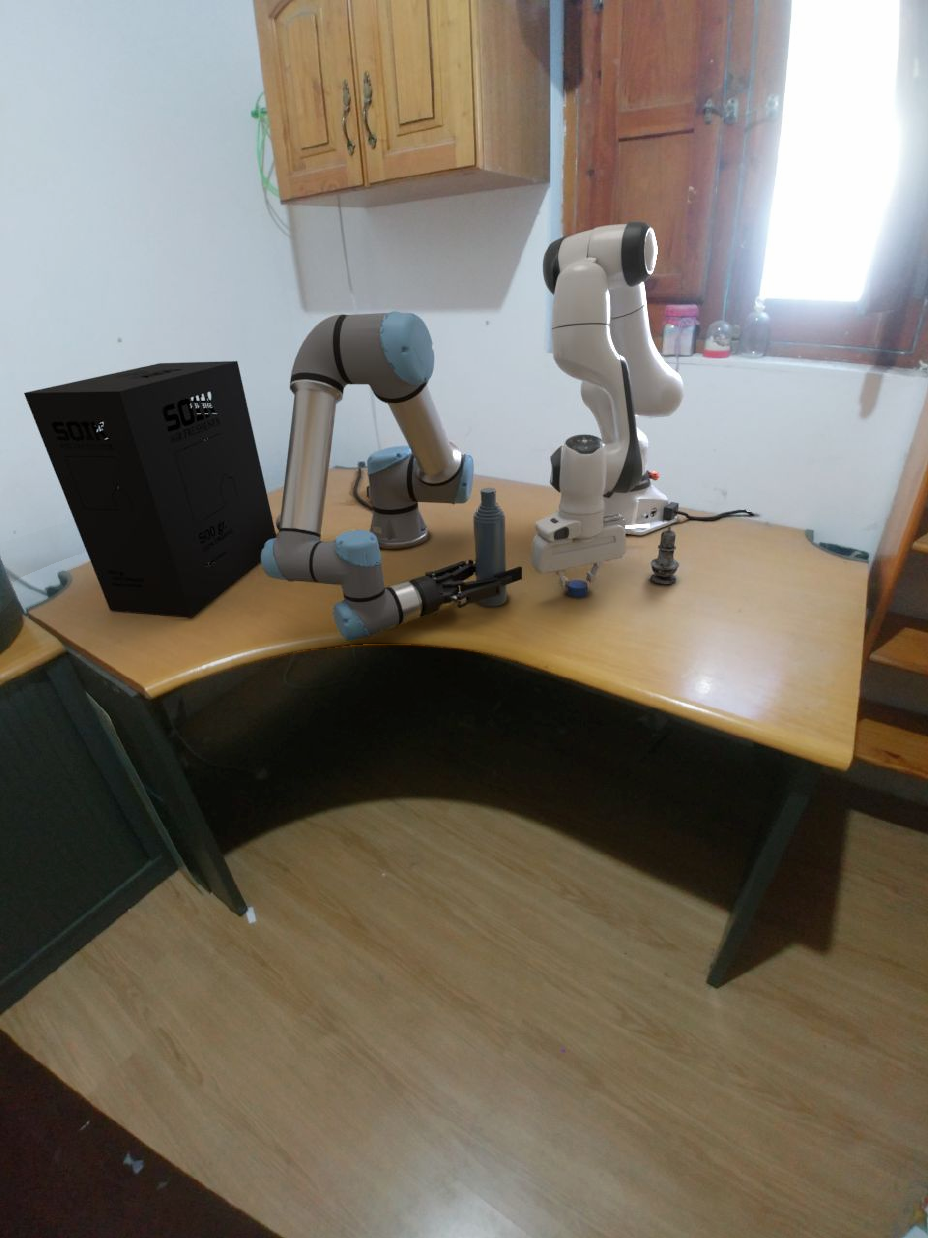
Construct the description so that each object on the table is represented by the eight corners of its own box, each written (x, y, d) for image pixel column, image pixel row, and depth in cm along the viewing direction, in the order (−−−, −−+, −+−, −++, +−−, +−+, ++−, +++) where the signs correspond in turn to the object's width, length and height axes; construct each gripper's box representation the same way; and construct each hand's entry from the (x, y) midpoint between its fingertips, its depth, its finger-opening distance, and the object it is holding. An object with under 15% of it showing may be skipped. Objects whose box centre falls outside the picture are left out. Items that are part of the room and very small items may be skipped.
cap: (569, 587, 130) (569, 578, 129) (588, 589, 129) (589, 580, 128) (565, 596, 126) (566, 587, 125) (585, 598, 125) (586, 589, 124)
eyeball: (273, 537, 164) (268, 516, 161) (287, 528, 169) (282, 508, 166) (291, 539, 161) (286, 518, 158) (305, 530, 166) (301, 510, 163)
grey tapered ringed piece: (678, 585, 127) (686, 532, 121) (649, 584, 129) (655, 531, 123) (675, 573, 132) (683, 521, 126) (648, 572, 134) (653, 520, 128)
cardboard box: (191, 617, 126) (119, 391, 104) (110, 610, 131) (23, 392, 108) (278, 546, 158) (237, 360, 135) (210, 542, 162) (159, 363, 140)
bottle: (497, 589, 130) (494, 482, 118) (512, 601, 125) (510, 491, 114) (471, 597, 128) (466, 488, 116) (485, 609, 123) (481, 497, 111)
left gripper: (393, 597, 125) (485, 567, 135) (440, 636, 111) (539, 600, 121) (389, 564, 121) (484, 536, 131) (437, 600, 107) (540, 566, 117)
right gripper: (618, 508, 125) (613, 568, 132) (527, 524, 120) (527, 586, 126) (635, 517, 120) (629, 580, 127) (541, 535, 114) (540, 599, 121)
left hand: (510, 567), depth 126 cm, fingers closed on bottle, 6 cm apart
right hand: (577, 583), depth 126 cm, fingers open, 5 cm apart
